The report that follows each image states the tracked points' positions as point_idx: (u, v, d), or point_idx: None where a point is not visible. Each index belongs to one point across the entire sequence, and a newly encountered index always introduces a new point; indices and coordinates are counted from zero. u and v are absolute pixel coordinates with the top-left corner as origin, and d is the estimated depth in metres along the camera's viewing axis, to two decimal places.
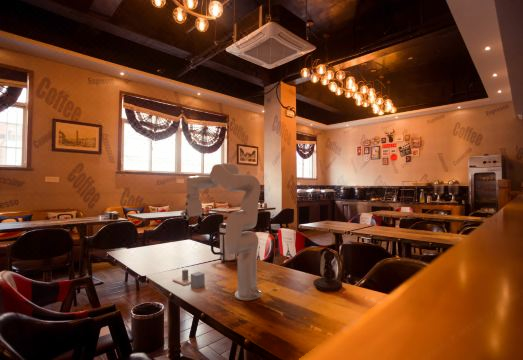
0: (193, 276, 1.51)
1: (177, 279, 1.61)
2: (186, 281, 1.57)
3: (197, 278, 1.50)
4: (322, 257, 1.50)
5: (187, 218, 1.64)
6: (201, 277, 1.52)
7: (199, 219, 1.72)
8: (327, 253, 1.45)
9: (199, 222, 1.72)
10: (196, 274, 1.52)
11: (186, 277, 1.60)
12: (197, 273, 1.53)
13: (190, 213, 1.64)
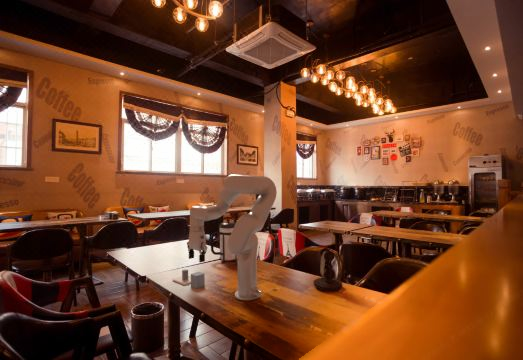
0: (193, 276, 1.51)
1: (177, 279, 1.61)
2: (186, 281, 1.57)
3: (197, 278, 1.50)
4: (322, 257, 1.50)
5: None
6: (201, 277, 1.52)
7: (192, 252, 1.56)
8: (327, 253, 1.45)
9: (192, 255, 1.56)
10: (196, 274, 1.52)
11: (186, 277, 1.60)
12: (197, 273, 1.53)
13: None
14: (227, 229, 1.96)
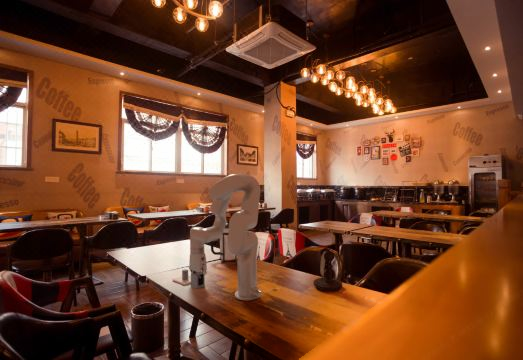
0: (193, 276, 1.51)
1: (177, 279, 1.61)
2: (186, 281, 1.57)
3: (197, 278, 1.50)
4: (322, 257, 1.50)
5: None
6: None
7: None
8: (327, 253, 1.45)
9: None
10: (196, 274, 1.52)
11: (186, 277, 1.60)
12: (197, 273, 1.53)
13: None
14: (227, 229, 1.96)
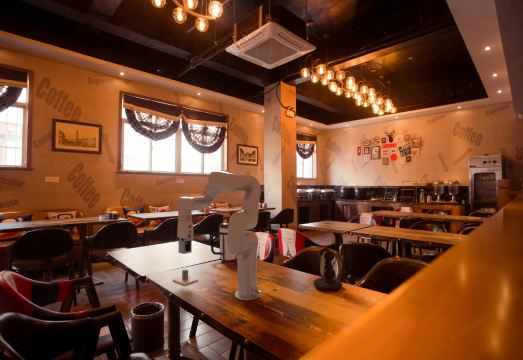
0: (180, 243, 1.59)
1: (177, 279, 1.61)
2: (186, 281, 1.57)
3: (184, 244, 1.58)
4: (322, 257, 1.50)
5: None
6: None
7: None
8: (327, 253, 1.45)
9: None
10: (183, 241, 1.60)
11: (186, 277, 1.60)
12: (185, 240, 1.61)
13: None
14: (227, 229, 1.96)
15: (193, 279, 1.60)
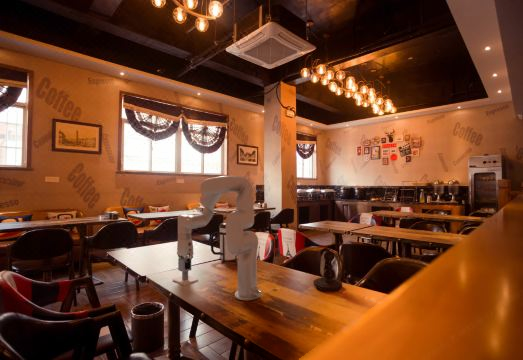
0: (180, 260, 1.59)
1: (177, 279, 1.61)
2: (186, 281, 1.57)
3: (184, 262, 1.58)
4: (322, 257, 1.50)
5: None
6: None
7: None
8: (327, 253, 1.45)
9: None
10: (183, 259, 1.60)
11: (186, 277, 1.60)
12: (184, 258, 1.62)
13: None
14: None
15: (193, 279, 1.60)
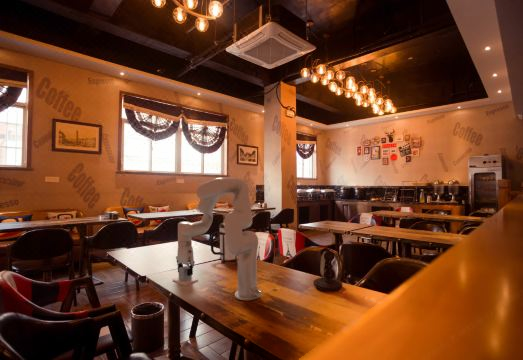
0: (181, 270, 1.59)
1: (177, 279, 1.61)
2: (186, 281, 1.57)
3: (184, 272, 1.58)
4: (322, 257, 1.50)
5: None
6: None
7: (181, 266, 1.64)
8: (327, 253, 1.45)
9: None
10: (183, 268, 1.60)
11: None
12: (185, 267, 1.61)
13: None
14: None
15: (193, 279, 1.60)
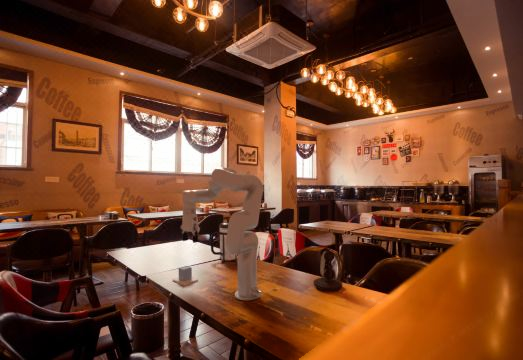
0: (181, 270, 1.59)
1: (177, 279, 1.61)
2: (186, 281, 1.57)
3: (184, 272, 1.58)
4: (322, 257, 1.50)
5: None
6: (188, 270, 1.60)
7: (186, 235, 1.66)
8: (327, 253, 1.45)
9: (186, 238, 1.66)
10: (183, 268, 1.60)
11: None
12: (185, 267, 1.61)
13: None
14: (227, 229, 1.96)
15: (193, 279, 1.60)
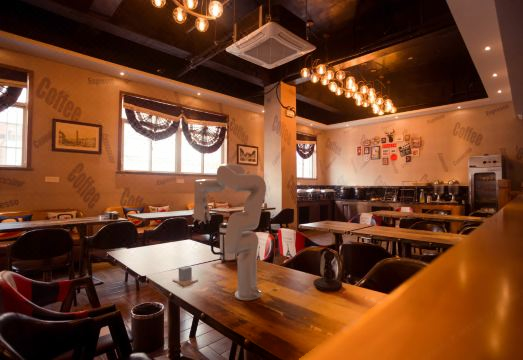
0: (181, 270, 1.59)
1: (177, 279, 1.61)
2: (186, 281, 1.57)
3: (184, 272, 1.58)
4: (322, 257, 1.50)
5: None
6: (188, 270, 1.60)
7: (197, 223, 1.70)
8: (327, 253, 1.45)
9: (197, 226, 1.70)
10: (183, 268, 1.60)
11: None
12: (185, 267, 1.61)
13: None
14: None
15: (193, 279, 1.60)
